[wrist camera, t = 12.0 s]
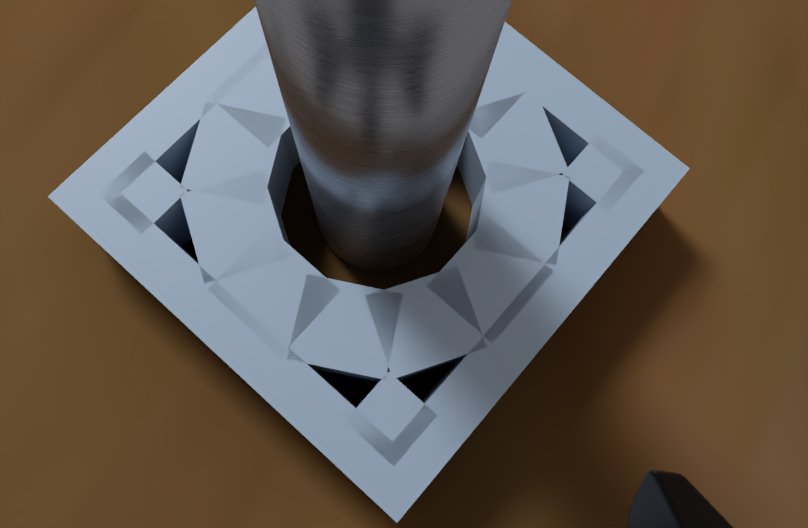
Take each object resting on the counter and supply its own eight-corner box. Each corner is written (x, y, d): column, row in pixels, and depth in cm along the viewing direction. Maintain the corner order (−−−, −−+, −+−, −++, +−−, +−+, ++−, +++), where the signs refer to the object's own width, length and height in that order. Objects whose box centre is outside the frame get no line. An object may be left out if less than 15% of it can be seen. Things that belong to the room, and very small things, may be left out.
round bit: (457, 238, 19) (602, -59, 7) (349, 291, 19) (308, 67, 7) (403, 138, 20) (451, -291, 8) (298, 186, 19) (171, -193, 7)
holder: (650, 198, 20) (689, 168, 17) (394, 507, 17) (397, 522, 15) (363, -34, 21) (362, -92, 19) (90, 223, 19) (47, 196, 16)
